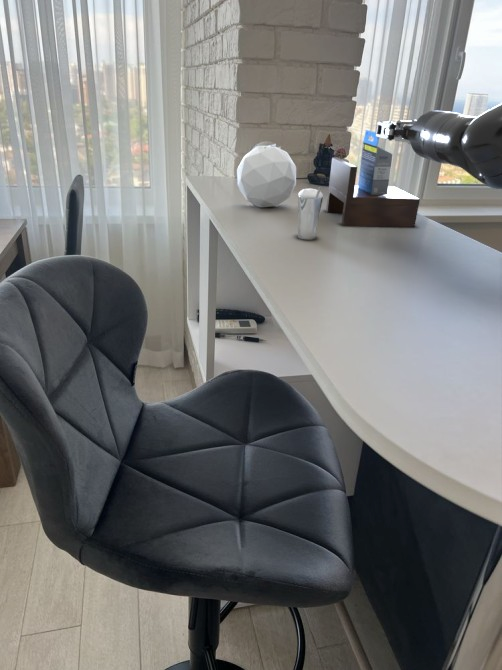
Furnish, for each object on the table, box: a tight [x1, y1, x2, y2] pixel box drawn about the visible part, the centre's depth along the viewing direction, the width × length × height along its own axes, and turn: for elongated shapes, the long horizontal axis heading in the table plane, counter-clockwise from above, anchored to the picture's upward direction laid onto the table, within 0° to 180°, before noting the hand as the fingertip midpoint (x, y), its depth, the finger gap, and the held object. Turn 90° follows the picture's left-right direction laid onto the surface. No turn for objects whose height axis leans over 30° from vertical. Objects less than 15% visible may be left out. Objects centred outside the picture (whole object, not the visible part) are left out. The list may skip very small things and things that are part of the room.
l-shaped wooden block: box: [325, 157, 421, 228], centre depth 111 cm, size 16×14×12 cm
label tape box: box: [357, 129, 393, 195], centre depth 109 cm, size 9×4×12 cm, turn 8°
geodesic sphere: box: [236, 143, 297, 208], centre depth 118 cm, size 15×14×14 cm
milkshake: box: [297, 186, 324, 241], centre depth 94 cm, size 4×5×10 cm
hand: (403, 128), depth 96 cm, fingers open, 8 cm apart
